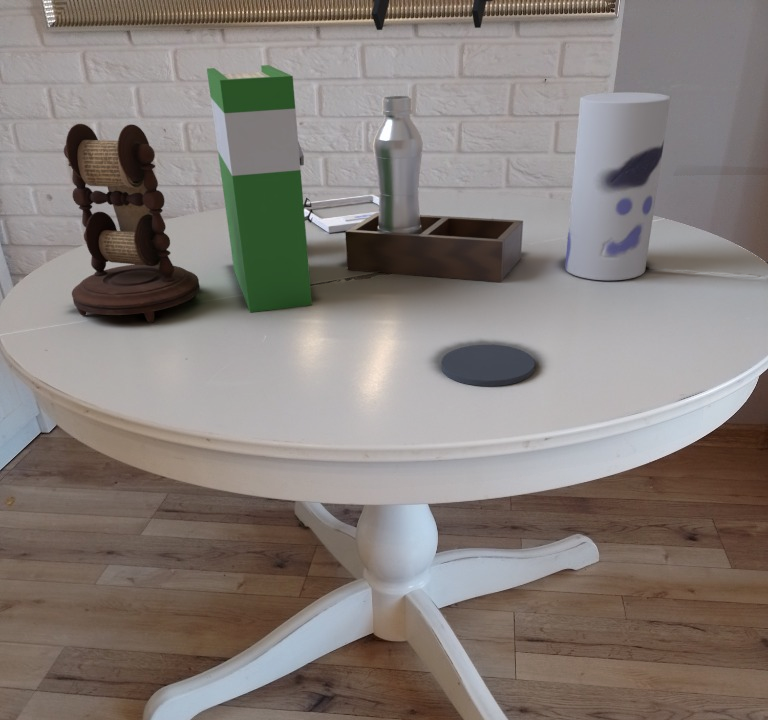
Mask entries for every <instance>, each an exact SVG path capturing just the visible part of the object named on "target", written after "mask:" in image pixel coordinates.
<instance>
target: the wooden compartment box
mask: <svg viewBox="0 0 768 720" xmlns="http://www.w3.org/2000/svg"><path fill="white" fill-rule="evenodd" d="M376 212H377V213H375V214H373V215H372V216H370V217H368V218H367V219H365V220H363V221H362V222H360V223H358V224H357V225H355V226H354V227H352V228H350V229H349V230H346V231H345V233H344V234H345V250H346V265H347V266H346V267H347V268H346V269H347V270H348V271H359V272H368V273H369V272H372V273H382V274H396V275H406V276H407V275H408V276H419V277H432V278H442V279H443V278H444V279H454V280H455V279H456V280H468V281H469V280H470V281H478V282H479V281H481V282H492V283H501V282H502V281H503V280H504V279H505V278H506V277H507V276H508V274H509V273H510V272H511V271H512V270H513V268H514V267H515V266H516V265H517V264H518V262H519V261H520V260H521V259H522V249H523V248H522V247H523V233H524V232H523V229H524V220H520V219H519V220H518V219H503V218H502V219H501V218H486V217H485V218H484V217H483V218H481V217H463V216H447V215H431V214H429V215H428V214H420V225H421V227H422V232H423V233H421V234H408V233H392V232H377V229H378V226H379V225H378V220H379V213H378V212H379V211H376Z"/></svg>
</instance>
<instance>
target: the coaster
mask: <svg viewBox="0 0 768 720" xmlns="http://www.w3.org/2000/svg"><path fill="white" fill-rule="evenodd" d="M440 365H441V367H440V369H441V372H442V373H443V374H444V375H445V376H446V377H447V378H449V379H450V380H453V381H455V382H458V383H461V384H465V385H471V386H478V387H501V386H508V385H514V384H517V383H520V382H524V381H525V380H526V379H529V378H530V377H531V376H532V375H533V374H534V372H535V369H536V368H535V367H536V361H535V359H534V357H533V356H532V355H531V354H529V353H528V352H526V351H524V350H521V349H518V348H516V347H512V346H507V345H500V344H472V345H466V346H463V347H462V346H461V347H459V348H458V347H457V348H455V349H452V350H451V351H449V352H447V353H446V354H445V355H443V357H442V359H441V363H440Z"/></svg>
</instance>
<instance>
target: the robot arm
mask: <svg viewBox="0 0 768 720" xmlns="http://www.w3.org/2000/svg"><path fill="white" fill-rule="evenodd" d="M493 1H494V0H473V4H472V8H471V13H472V21H473V25H474V29H480V28H482V23H483V18H484V15H485V14H484V13H485V9H486V5H487V2H493ZM372 2H373V5H372V10H371V17H372V19H373V23H374V26H375V28H376V31H382V30H383V27H384V24H385V20H386V16H387V12H388V8H389V4H390V0H372Z"/></svg>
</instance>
